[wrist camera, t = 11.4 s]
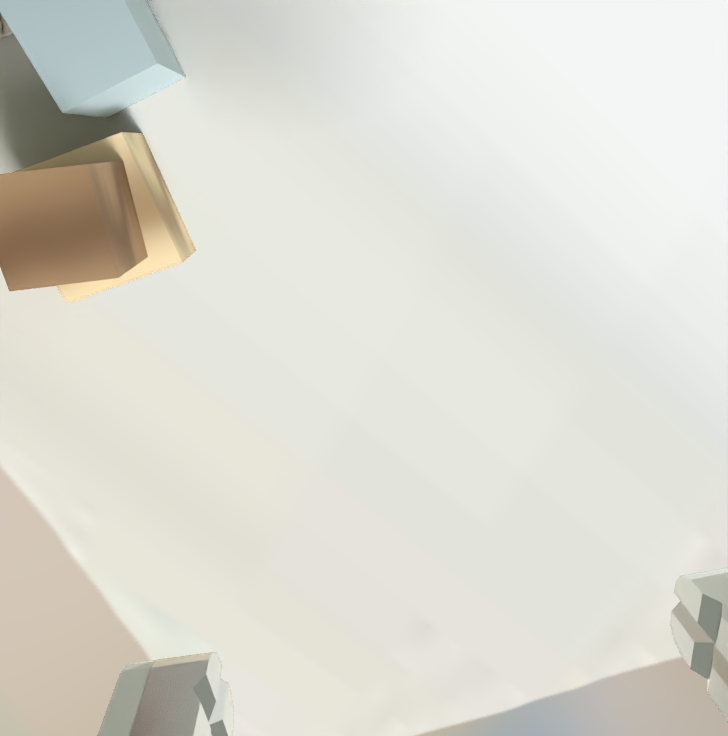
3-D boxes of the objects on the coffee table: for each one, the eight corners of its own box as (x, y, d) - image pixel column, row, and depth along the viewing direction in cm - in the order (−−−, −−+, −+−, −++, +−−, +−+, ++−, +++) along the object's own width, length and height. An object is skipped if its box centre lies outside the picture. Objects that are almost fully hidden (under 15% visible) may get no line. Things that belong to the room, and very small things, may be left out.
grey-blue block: (51, 22, 29) (-11, -6, 23) (134, -23, 28) (91, -62, 23) (107, 117, 31) (62, 113, 25) (186, 77, 30) (157, 63, 25)
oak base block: (31, 174, 32) (-6, 178, 28) (143, 133, 31) (121, 132, 28) (93, 286, 34) (66, 303, 31) (196, 249, 34) (182, 262, 30)
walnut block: (24, 171, 28) (-33, 177, 23) (122, 160, 28) (85, 164, 24) (56, 267, 30) (9, 291, 25) (148, 256, 30) (118, 278, 26)
